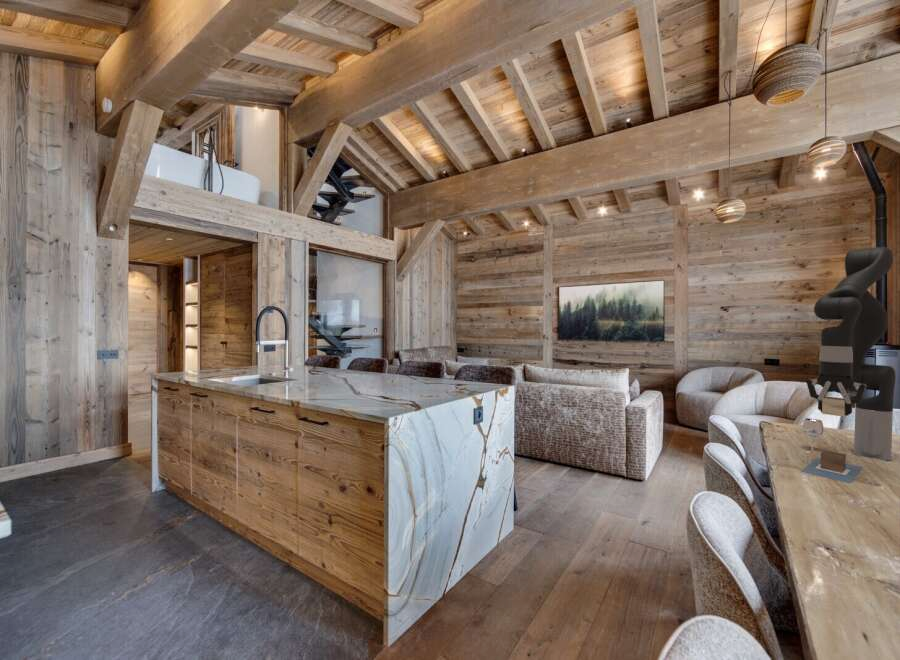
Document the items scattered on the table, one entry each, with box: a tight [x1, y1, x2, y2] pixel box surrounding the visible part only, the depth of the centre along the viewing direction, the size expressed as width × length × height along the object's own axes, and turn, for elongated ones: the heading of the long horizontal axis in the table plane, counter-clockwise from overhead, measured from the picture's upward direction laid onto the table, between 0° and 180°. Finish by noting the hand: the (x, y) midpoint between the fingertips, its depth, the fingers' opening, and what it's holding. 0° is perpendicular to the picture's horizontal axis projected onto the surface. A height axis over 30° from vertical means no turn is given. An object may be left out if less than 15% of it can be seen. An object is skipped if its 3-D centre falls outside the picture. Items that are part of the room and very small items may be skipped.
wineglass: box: [802, 417, 825, 451], centre depth 146 cm, size 6×6×12 cm
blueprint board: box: [800, 457, 864, 484], centre depth 125 cm, size 23×11×1 cm, turn 127°
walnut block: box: [820, 449, 847, 473], centre depth 125 cm, size 5×5×5 cm
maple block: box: [821, 395, 846, 418], centre depth 125 cm, size 5×5×5 cm
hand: (834, 413), depth 125 cm, fingers closed on maple block, 5 cm apart
